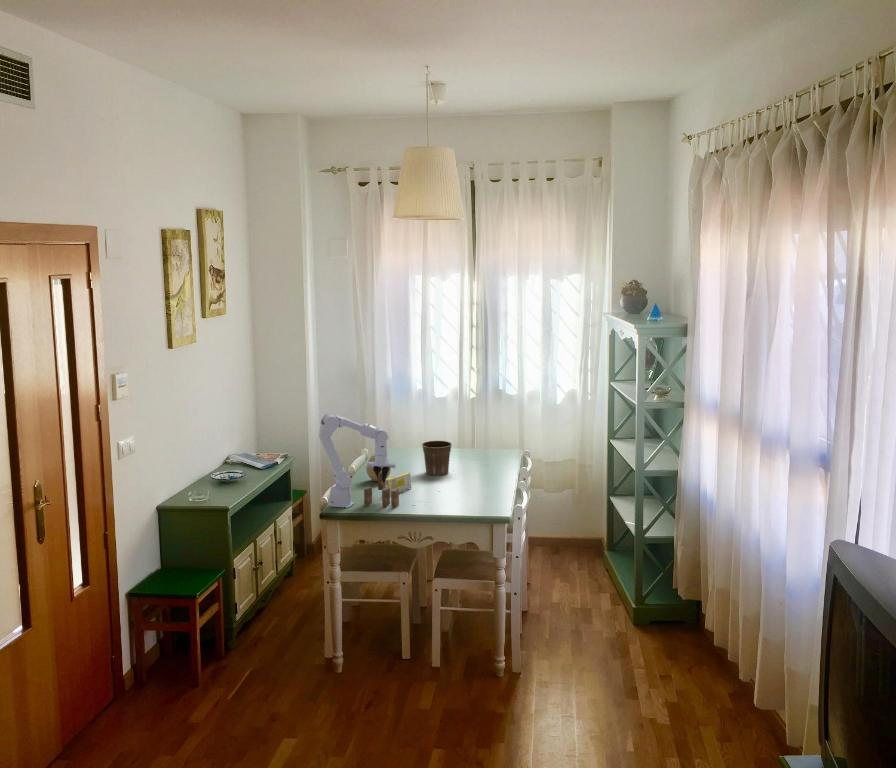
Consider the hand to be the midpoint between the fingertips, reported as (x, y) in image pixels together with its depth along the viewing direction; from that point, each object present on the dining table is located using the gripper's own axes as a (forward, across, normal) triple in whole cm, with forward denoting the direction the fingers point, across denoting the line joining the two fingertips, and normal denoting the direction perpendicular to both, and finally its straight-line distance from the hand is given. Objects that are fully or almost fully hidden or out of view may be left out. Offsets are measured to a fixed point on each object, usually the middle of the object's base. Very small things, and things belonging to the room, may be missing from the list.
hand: (381, 481), depth 413 cm
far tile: (+10, -9, +7) cm, 15 cm away
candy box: (+10, -2, -17) cm, 20 cm away
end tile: (+9, +4, +7) cm, 13 cm away
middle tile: (+10, -4, +7) cm, 13 cm away
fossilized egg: (+10, +14, -34) cm, 38 cm away
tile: (+3, 0, 0) cm, 3 cm away
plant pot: (+10, -11, -57) cm, 59 cm away
